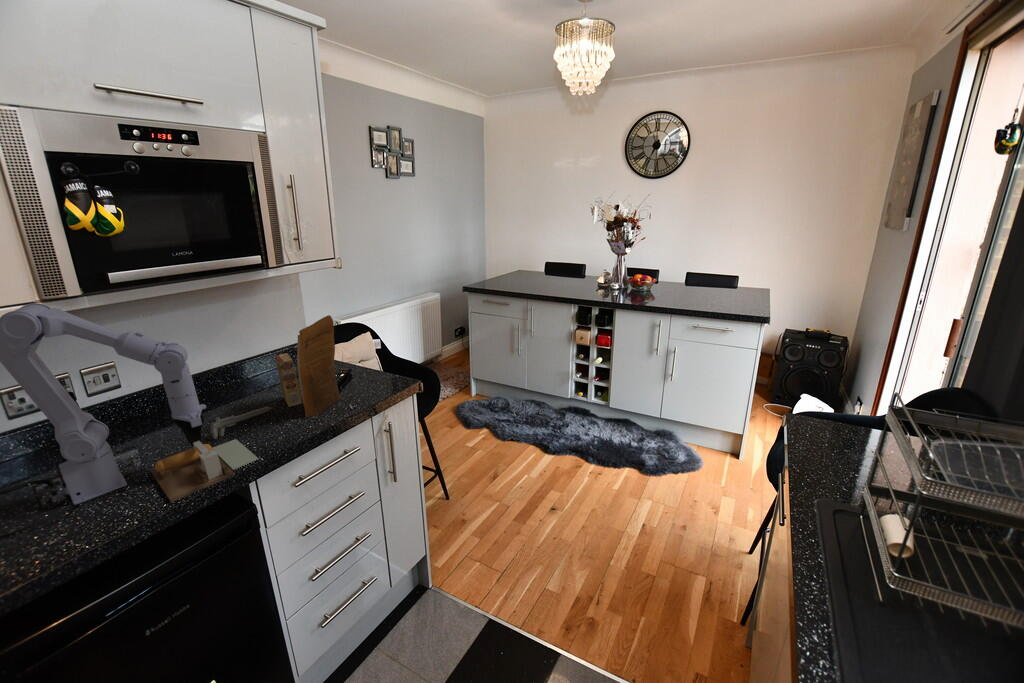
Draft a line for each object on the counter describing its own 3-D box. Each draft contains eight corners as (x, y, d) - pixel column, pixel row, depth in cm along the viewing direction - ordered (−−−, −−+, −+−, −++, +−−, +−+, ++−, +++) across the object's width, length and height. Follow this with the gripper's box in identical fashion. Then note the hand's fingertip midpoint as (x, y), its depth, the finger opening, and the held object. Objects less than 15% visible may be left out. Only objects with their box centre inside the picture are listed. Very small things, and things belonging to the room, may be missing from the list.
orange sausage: (158, 476, 110) (155, 465, 109) (155, 471, 112) (152, 460, 111) (215, 454, 118) (212, 444, 117) (211, 450, 120) (208, 440, 119)
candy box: (302, 403, 149) (293, 359, 145) (288, 407, 147) (279, 362, 142) (296, 395, 156) (287, 352, 152) (282, 398, 154) (273, 355, 149)
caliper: (216, 441, 129) (211, 421, 127) (213, 440, 129) (208, 420, 127) (272, 409, 147) (268, 391, 145) (270, 408, 147) (266, 390, 146)
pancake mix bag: (352, 394, 155) (339, 313, 146) (315, 421, 137) (297, 331, 129) (335, 393, 156) (321, 313, 148) (296, 419, 139) (278, 330, 130)
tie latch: (208, 480, 108) (202, 459, 107) (194, 463, 115) (189, 444, 114) (222, 474, 110) (217, 453, 109) (208, 458, 118) (202, 439, 116)
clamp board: (170, 502, 102) (167, 492, 102) (150, 471, 115) (147, 462, 114) (234, 475, 111) (232, 466, 111) (209, 449, 124) (206, 441, 123)
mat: (233, 470, 113) (232, 469, 113) (212, 449, 124) (211, 448, 124) (258, 460, 118) (258, 458, 117) (236, 440, 128) (235, 438, 128)
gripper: (210, 395, 110) (223, 446, 114) (191, 381, 119) (204, 428, 123) (175, 406, 105) (190, 458, 109) (158, 391, 114) (173, 439, 118)
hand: (195, 443), depth 116 cm, fingers closed
